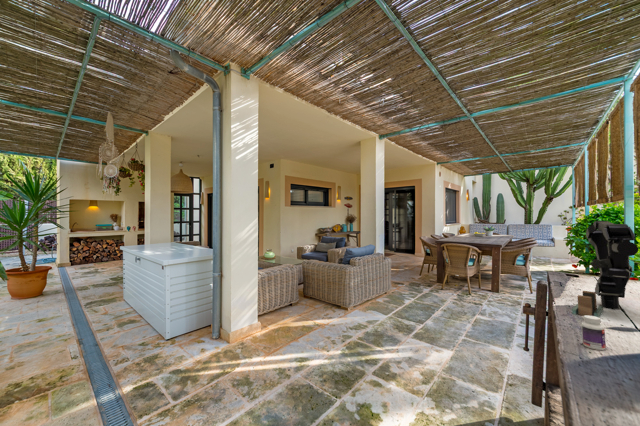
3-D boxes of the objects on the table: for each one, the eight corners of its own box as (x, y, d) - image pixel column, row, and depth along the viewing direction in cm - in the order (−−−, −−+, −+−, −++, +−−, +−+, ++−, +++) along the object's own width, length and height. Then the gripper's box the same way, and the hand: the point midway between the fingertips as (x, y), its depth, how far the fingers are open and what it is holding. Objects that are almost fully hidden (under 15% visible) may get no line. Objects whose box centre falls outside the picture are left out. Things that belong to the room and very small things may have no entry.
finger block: (580, 313, 117) (578, 295, 117) (593, 315, 114) (591, 296, 114) (578, 314, 115) (577, 296, 115) (591, 317, 112) (590, 298, 112)
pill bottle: (609, 352, 84) (606, 321, 85) (585, 348, 87) (583, 318, 87) (602, 345, 89) (600, 316, 89) (580, 342, 91) (578, 313, 92)
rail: (579, 308, 125) (578, 302, 126) (603, 312, 119) (603, 306, 119) (572, 316, 116) (572, 309, 116) (598, 321, 110) (597, 313, 110)
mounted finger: (584, 307, 124) (583, 290, 124) (597, 309, 120) (595, 292, 121) (583, 309, 122) (582, 291, 122) (596, 311, 119) (594, 293, 119)
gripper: (594, 250, 124) (597, 284, 123) (587, 254, 113) (590, 291, 112) (631, 252, 115) (634, 288, 115) (627, 256, 104) (631, 296, 103)
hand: (621, 290), depth 111 cm, fingers open, 9 cm apart
